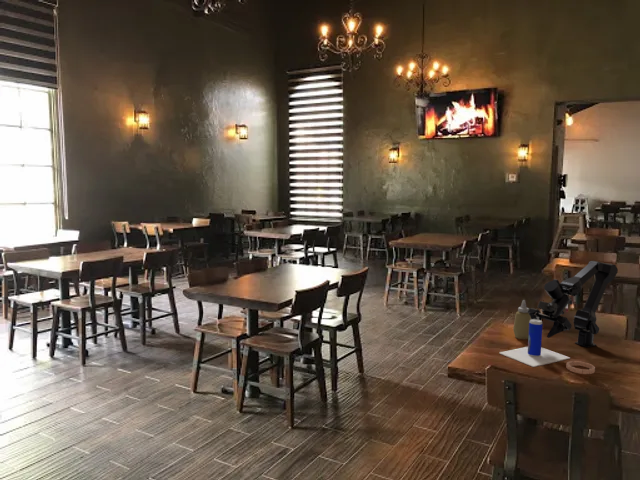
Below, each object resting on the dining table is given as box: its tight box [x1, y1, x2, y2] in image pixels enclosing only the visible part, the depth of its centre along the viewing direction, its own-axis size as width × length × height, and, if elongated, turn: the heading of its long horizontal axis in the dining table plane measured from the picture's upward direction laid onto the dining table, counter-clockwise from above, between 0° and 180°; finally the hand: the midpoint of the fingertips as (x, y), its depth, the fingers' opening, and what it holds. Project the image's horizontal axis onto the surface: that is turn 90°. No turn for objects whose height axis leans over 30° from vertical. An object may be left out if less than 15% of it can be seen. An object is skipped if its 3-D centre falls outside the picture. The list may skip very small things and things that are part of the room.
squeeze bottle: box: [512, 299, 531, 340], centre depth 248 cm, size 8×8×18 cm
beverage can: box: [527, 319, 544, 357], centre depth 224 cm, size 5×5×15 cm
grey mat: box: [498, 346, 571, 368], centre depth 225 cm, size 22×18×1 cm
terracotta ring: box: [565, 360, 596, 375], centre depth 210 cm, size 10×10×2 cm
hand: (538, 334), depth 224 cm, fingers open, 9 cm apart
